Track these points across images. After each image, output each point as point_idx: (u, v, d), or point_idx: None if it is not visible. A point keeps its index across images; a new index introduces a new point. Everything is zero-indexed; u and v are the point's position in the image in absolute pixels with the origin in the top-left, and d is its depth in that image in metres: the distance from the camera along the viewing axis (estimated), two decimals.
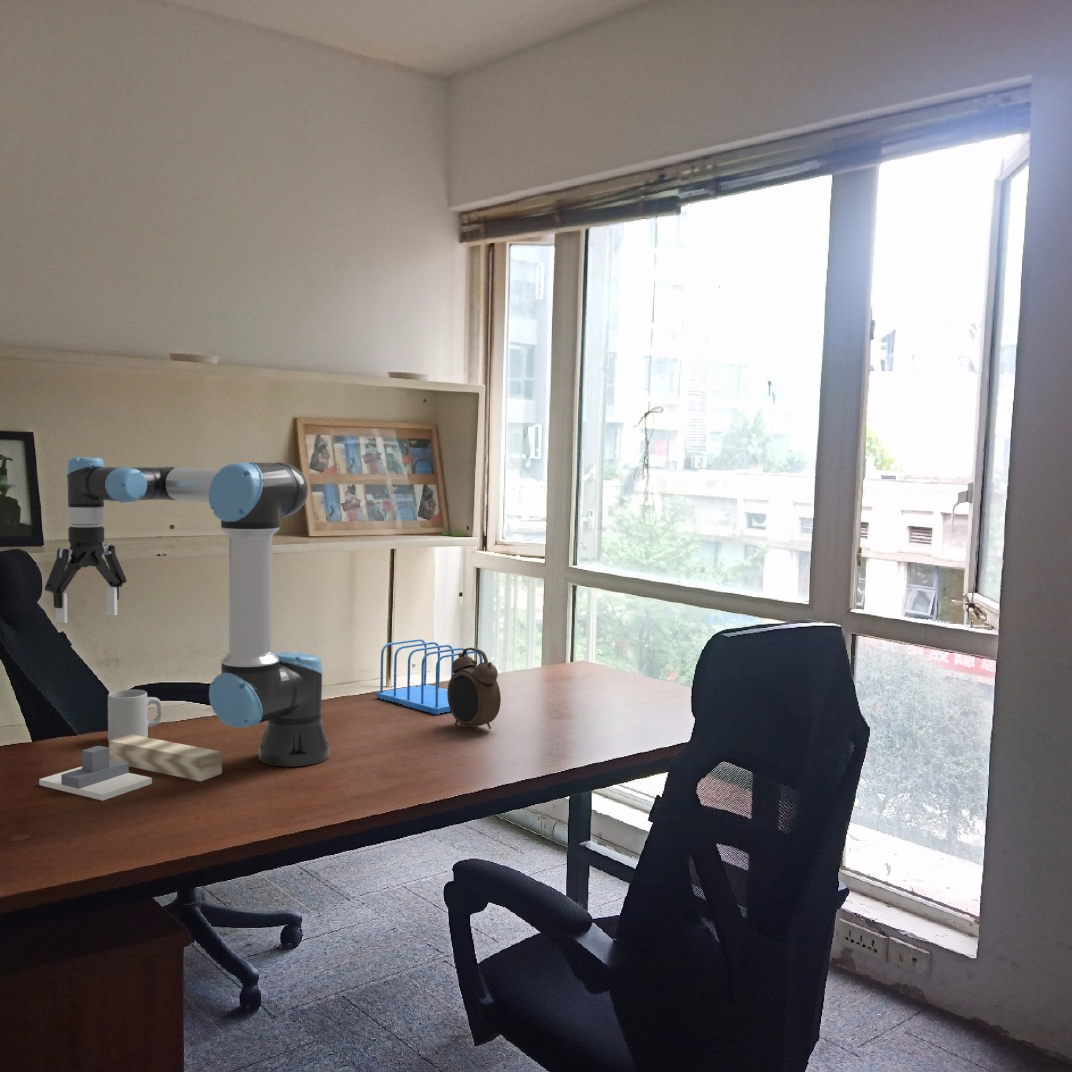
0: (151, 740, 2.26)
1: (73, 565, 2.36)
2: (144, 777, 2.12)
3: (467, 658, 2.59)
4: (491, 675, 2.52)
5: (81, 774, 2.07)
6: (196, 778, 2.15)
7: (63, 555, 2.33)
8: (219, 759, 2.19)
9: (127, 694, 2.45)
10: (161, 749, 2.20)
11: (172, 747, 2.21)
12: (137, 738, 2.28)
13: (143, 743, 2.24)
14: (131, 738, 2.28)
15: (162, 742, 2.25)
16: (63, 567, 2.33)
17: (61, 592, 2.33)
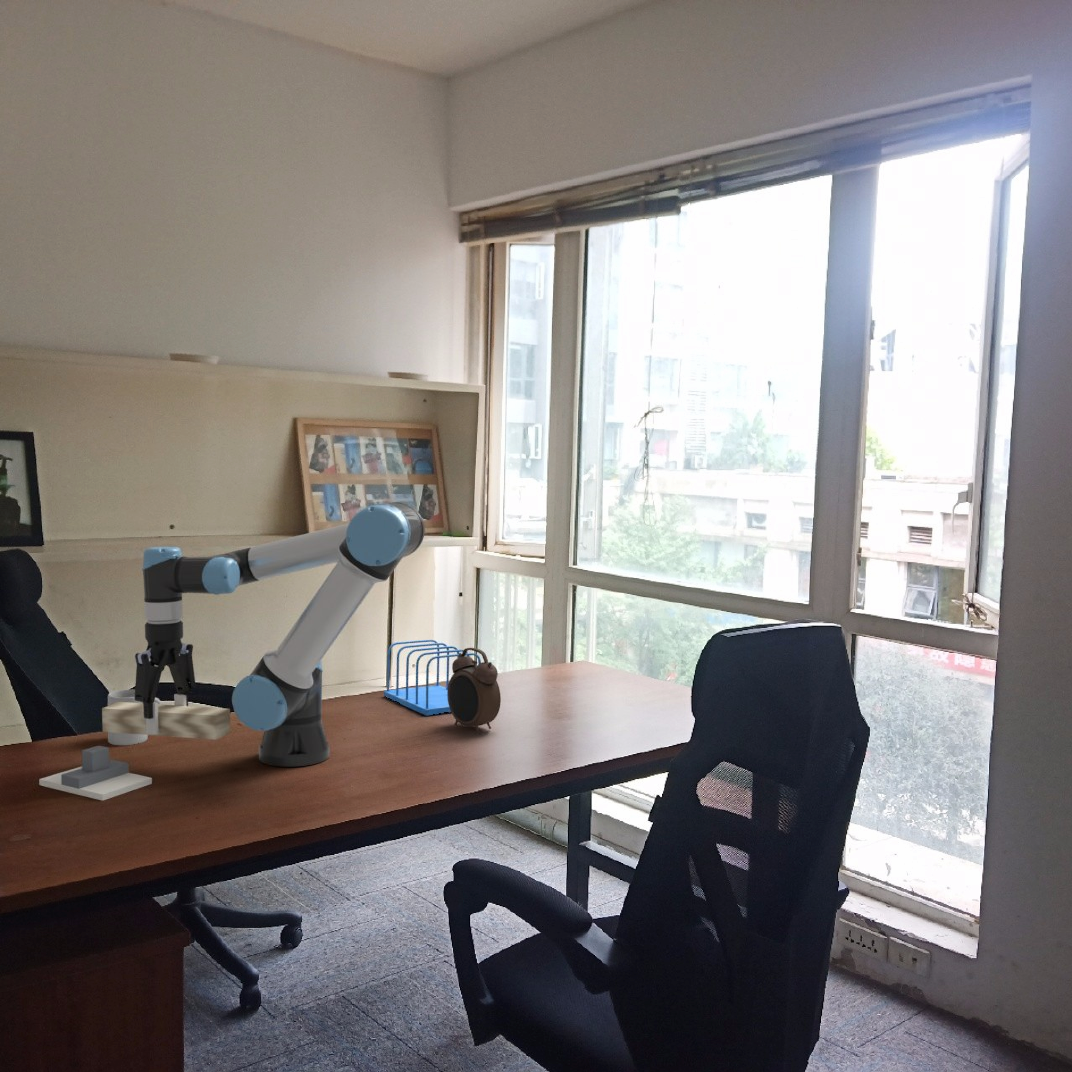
0: None
1: (155, 668, 2.18)
2: (144, 777, 2.12)
3: (467, 658, 2.59)
4: (491, 675, 2.52)
5: (81, 774, 2.07)
6: (210, 736, 2.17)
7: (143, 662, 2.15)
8: (228, 716, 2.21)
9: (127, 694, 2.45)
10: (166, 711, 2.19)
11: (175, 709, 2.21)
12: (129, 704, 2.25)
13: (140, 707, 2.22)
14: (123, 705, 2.24)
15: (160, 705, 2.24)
16: (147, 673, 2.15)
17: (152, 701, 2.17)
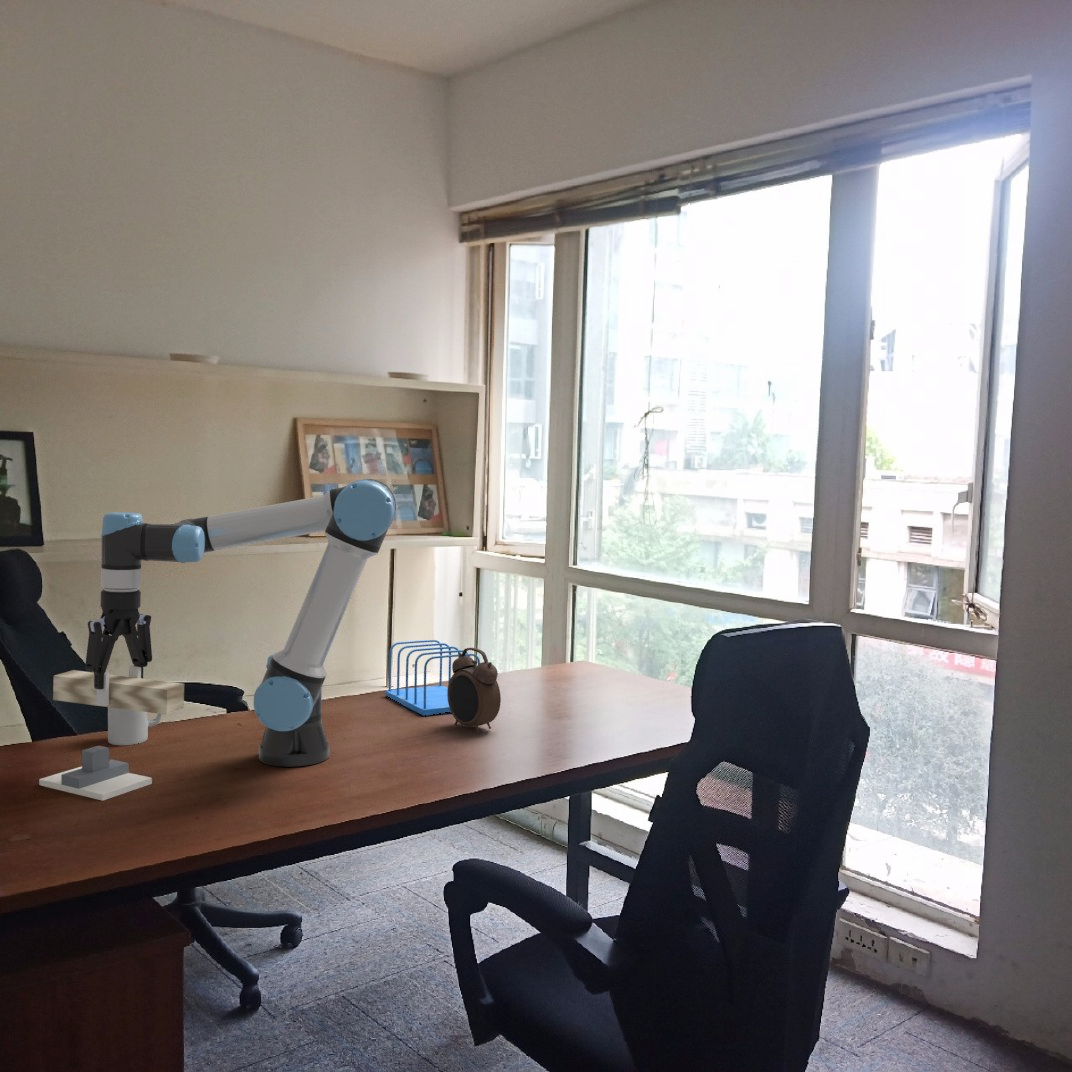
0: None
1: (109, 637, 2.10)
2: (144, 777, 2.12)
3: (467, 658, 2.59)
4: (491, 675, 2.52)
5: (81, 774, 2.07)
6: (161, 710, 2.09)
7: (95, 630, 2.07)
8: (182, 692, 2.13)
9: None
10: (118, 682, 2.11)
11: (128, 680, 2.13)
12: (83, 673, 2.18)
13: (93, 677, 2.15)
14: (76, 673, 2.17)
15: (113, 676, 2.16)
16: (99, 642, 2.08)
17: (103, 672, 2.09)
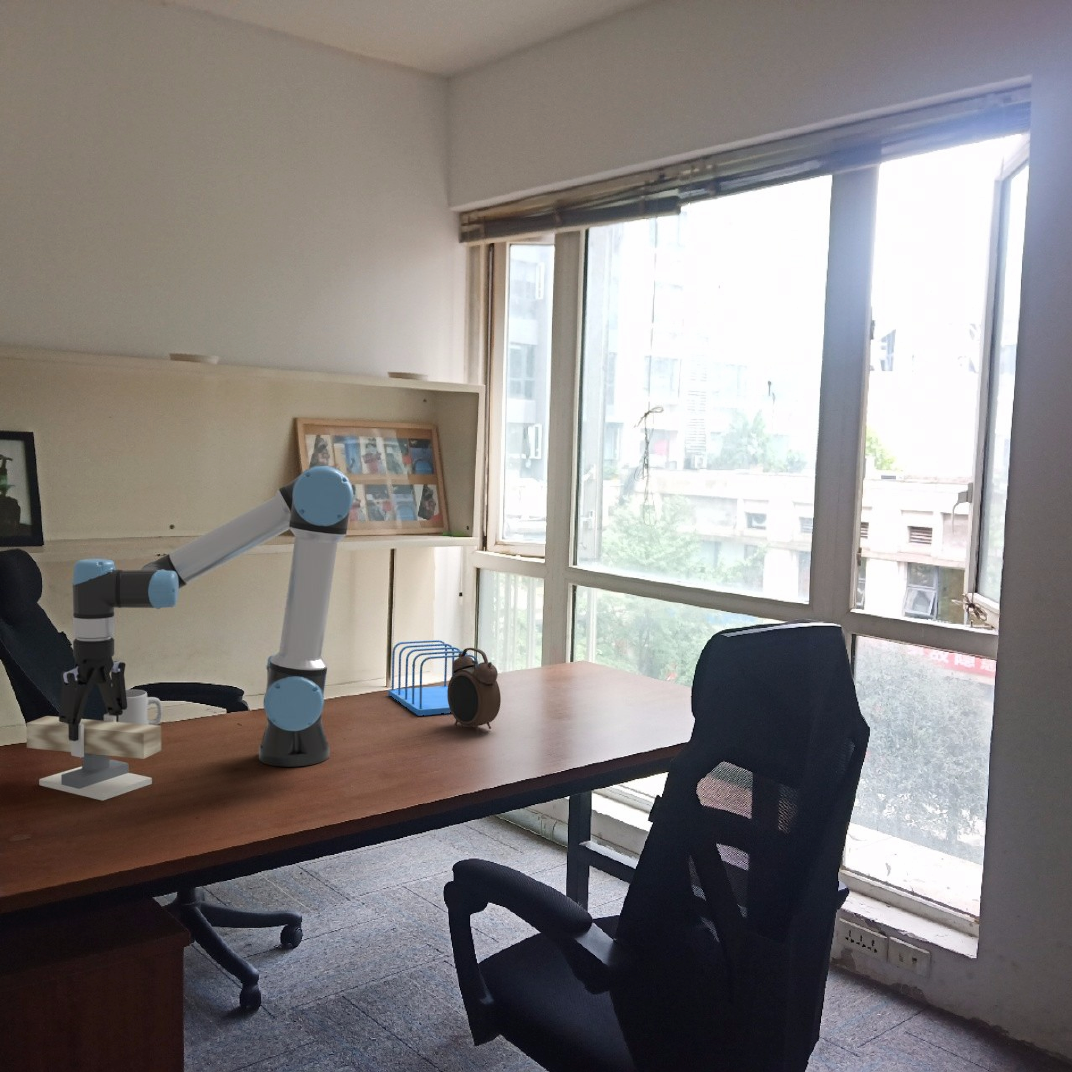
0: None
1: (82, 688, 2.06)
2: (144, 777, 2.12)
3: (467, 658, 2.59)
4: (491, 675, 2.52)
5: (81, 774, 2.07)
6: (138, 754, 2.05)
7: (69, 681, 2.03)
8: (159, 734, 2.10)
9: (127, 694, 2.45)
10: (93, 727, 2.07)
11: (103, 725, 2.09)
12: (57, 719, 2.13)
13: None
14: (50, 719, 2.13)
15: (88, 721, 2.12)
16: (73, 693, 2.04)
17: (78, 723, 2.05)
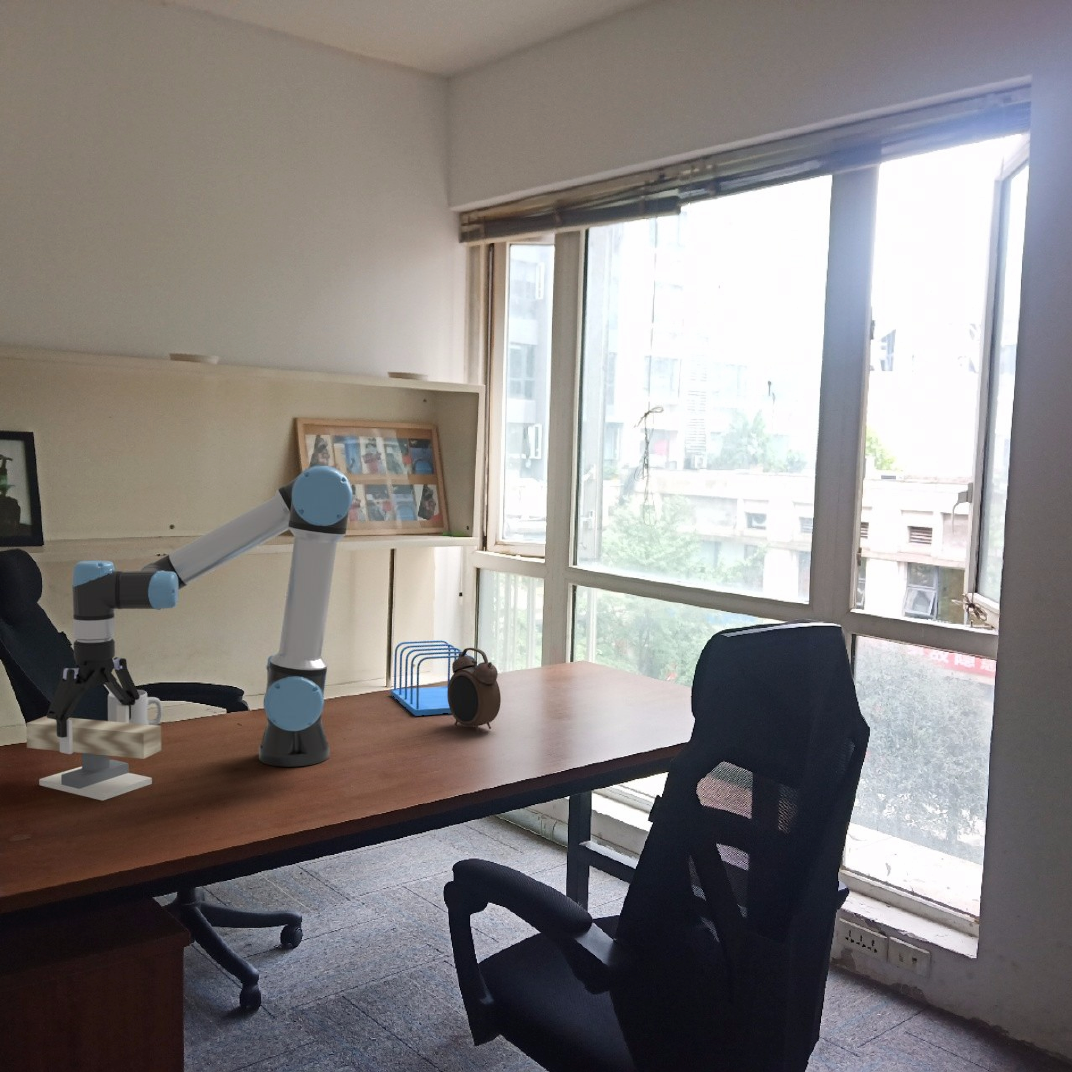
0: (74, 720, 2.13)
1: (79, 686, 2.05)
2: (144, 777, 2.12)
3: (467, 658, 2.59)
4: (491, 675, 2.52)
5: (81, 774, 2.07)
6: (138, 754, 2.05)
7: (68, 676, 2.02)
8: (159, 734, 2.10)
9: None
10: (93, 727, 2.07)
11: (103, 725, 2.09)
12: None
13: None
14: (50, 719, 2.13)
15: (88, 721, 2.12)
16: (68, 690, 2.02)
17: (65, 719, 2.02)
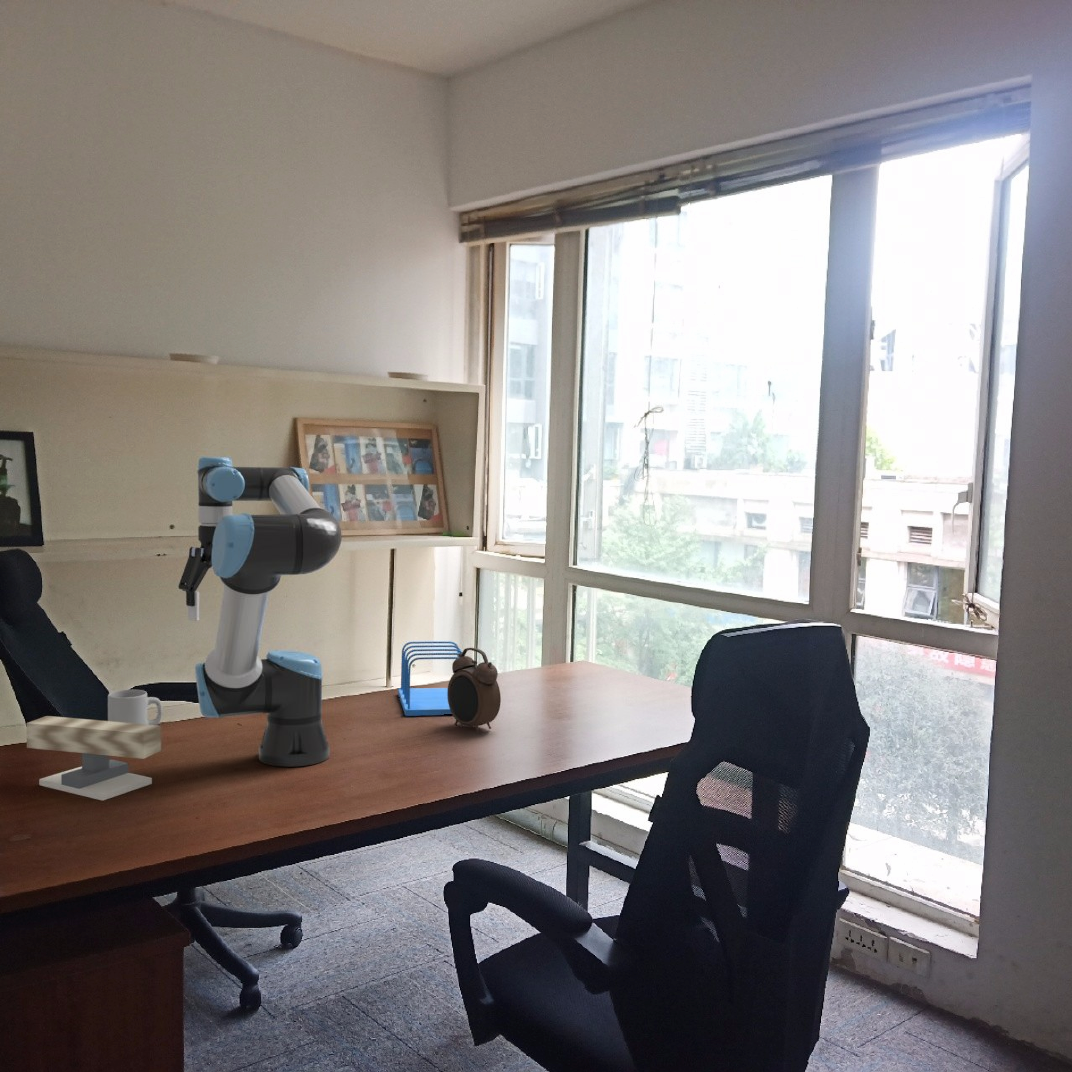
0: (74, 720, 2.13)
1: (204, 563, 2.38)
2: (144, 777, 2.12)
3: (467, 658, 2.59)
4: (491, 675, 2.52)
5: (81, 774, 2.07)
6: (138, 754, 2.05)
7: (196, 554, 2.35)
8: (159, 734, 2.10)
9: (127, 694, 2.45)
10: (93, 727, 2.07)
11: (103, 725, 2.09)
12: (57, 719, 2.13)
13: (67, 723, 2.10)
14: (50, 719, 2.13)
15: (88, 721, 2.12)
16: (196, 565, 2.35)
17: (194, 590, 2.35)
